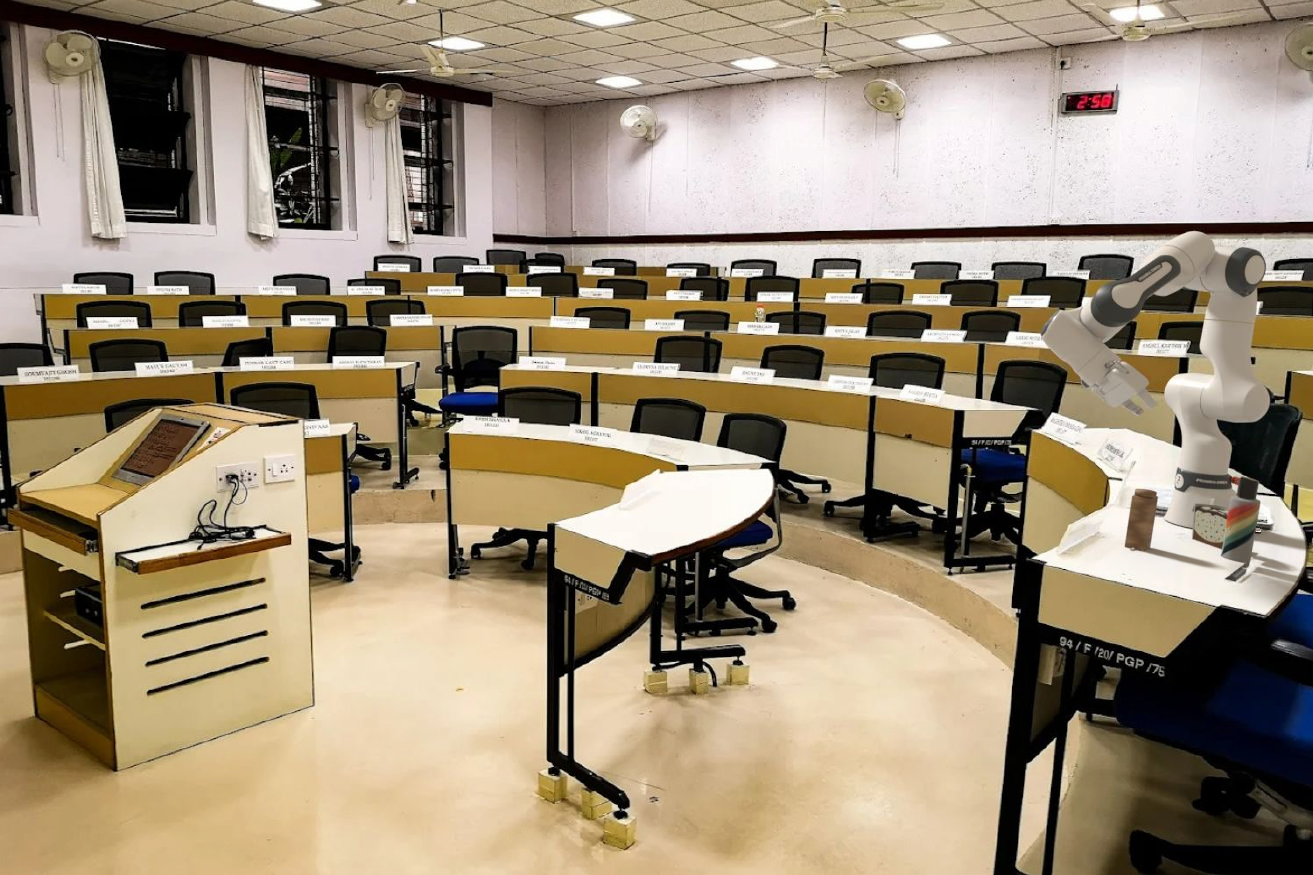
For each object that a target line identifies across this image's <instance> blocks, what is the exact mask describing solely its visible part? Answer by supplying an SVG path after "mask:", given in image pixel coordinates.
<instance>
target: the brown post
mask: <svg viewBox="0 0 1313 875" xmlns="http://www.w3.org/2000/svg"><path fill="white" fill-rule="evenodd" d="M1157 495H1158V492H1157V491H1155V490H1154V489H1153V490H1152V489H1146V488H1135V489H1134V494H1132V495H1131V502H1130V509H1129V515H1128V522H1127V528H1126V535H1125V540H1124V548H1128V549H1129V550H1130V551H1135V550H1137V551H1142V552H1144V551H1146V550H1148V549H1150V548H1151V545H1152V538H1153V532H1154V526H1155V524H1154V523H1155V519H1156V513H1157V507H1158V499H1159V495H1158V496H1157Z"/></svg>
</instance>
